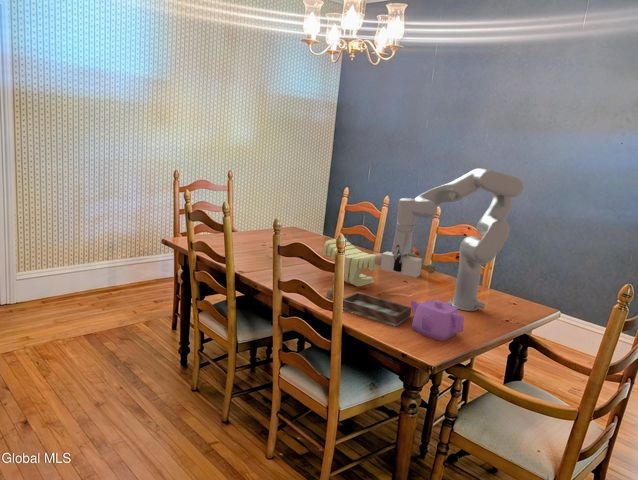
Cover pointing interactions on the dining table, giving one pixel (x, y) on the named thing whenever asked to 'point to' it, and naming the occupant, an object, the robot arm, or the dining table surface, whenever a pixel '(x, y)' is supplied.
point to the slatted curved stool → (353, 262)
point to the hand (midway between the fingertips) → (400, 269)
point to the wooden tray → (376, 308)
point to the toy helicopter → (428, 268)
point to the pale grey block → (409, 264)
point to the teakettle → (436, 319)
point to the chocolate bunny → (330, 291)
